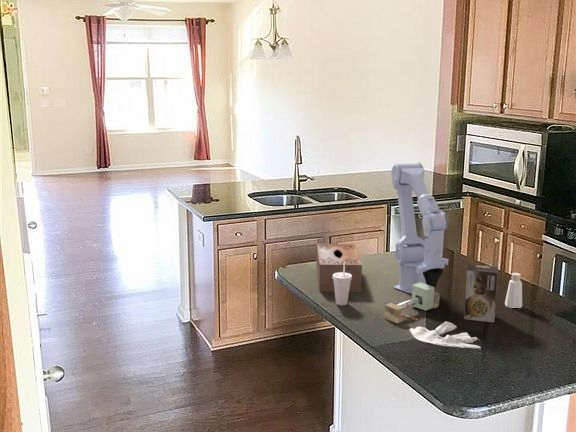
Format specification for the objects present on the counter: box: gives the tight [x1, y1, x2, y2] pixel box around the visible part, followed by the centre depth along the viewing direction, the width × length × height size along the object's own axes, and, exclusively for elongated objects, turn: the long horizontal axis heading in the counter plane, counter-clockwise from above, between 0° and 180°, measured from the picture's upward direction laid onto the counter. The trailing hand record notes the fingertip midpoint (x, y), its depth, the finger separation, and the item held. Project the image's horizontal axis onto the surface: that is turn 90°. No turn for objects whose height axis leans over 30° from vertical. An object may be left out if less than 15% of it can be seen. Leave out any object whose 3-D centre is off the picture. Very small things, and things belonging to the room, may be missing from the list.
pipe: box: [389, 296, 422, 314], centre depth 192 cm, size 21×2×2 cm, turn 131°
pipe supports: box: [384, 291, 440, 324], centre depth 192 cm, size 21×10×4 cm, turn 131°
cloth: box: [409, 320, 482, 349], centre depth 176 cm, size 20×22×2 cm
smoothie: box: [332, 262, 352, 306], centre depth 198 cm, size 6×6×14 cm
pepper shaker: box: [504, 272, 523, 309], centre depth 197 cm, size 5×5×11 cm
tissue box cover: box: [316, 243, 363, 293], centre depth 222 cm, size 26×14×10 cm, turn 0°
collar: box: [411, 283, 436, 312], centre depth 195 cm, size 4×6×7 cm
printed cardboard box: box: [463, 263, 499, 324], centre depth 187 cm, size 9×6×16 cm
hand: (431, 290), depth 197 cm, fingers closed
